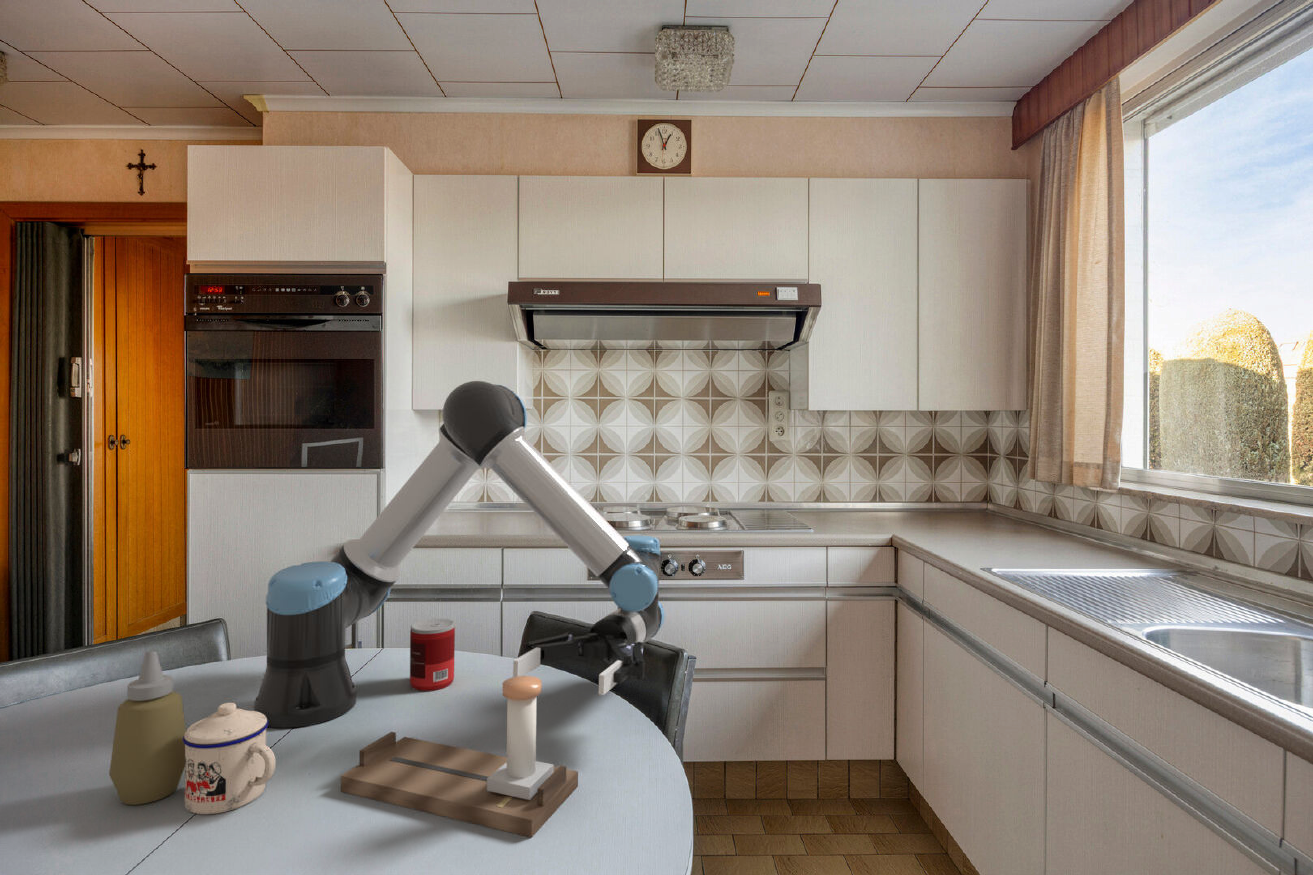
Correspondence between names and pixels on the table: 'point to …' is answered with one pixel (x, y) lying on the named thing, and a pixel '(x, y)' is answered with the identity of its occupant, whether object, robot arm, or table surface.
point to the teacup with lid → (226, 760)
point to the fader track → (452, 784)
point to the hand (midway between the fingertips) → (557, 677)
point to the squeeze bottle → (148, 737)
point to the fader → (520, 742)
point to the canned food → (432, 654)
